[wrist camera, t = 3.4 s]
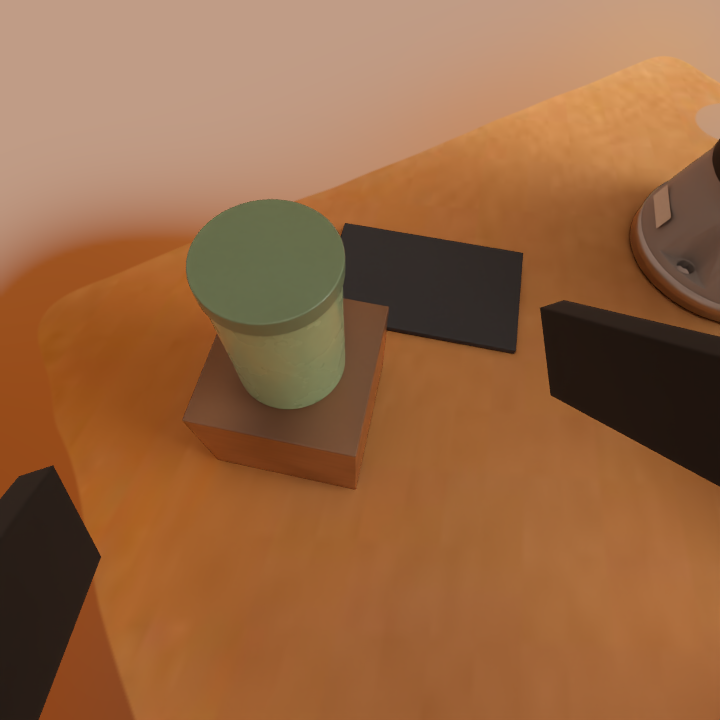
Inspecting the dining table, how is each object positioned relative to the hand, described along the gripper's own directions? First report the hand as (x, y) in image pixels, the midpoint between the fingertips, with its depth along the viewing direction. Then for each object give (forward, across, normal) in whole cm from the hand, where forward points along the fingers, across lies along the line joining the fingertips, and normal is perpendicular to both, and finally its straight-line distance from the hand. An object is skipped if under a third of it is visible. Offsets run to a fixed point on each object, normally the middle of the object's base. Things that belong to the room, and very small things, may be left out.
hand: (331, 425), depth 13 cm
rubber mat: (+27, +13, -3) cm, 30 cm away
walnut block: (+22, 0, -8) cm, 24 cm away
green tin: (+16, 0, -3) cm, 17 cm away
